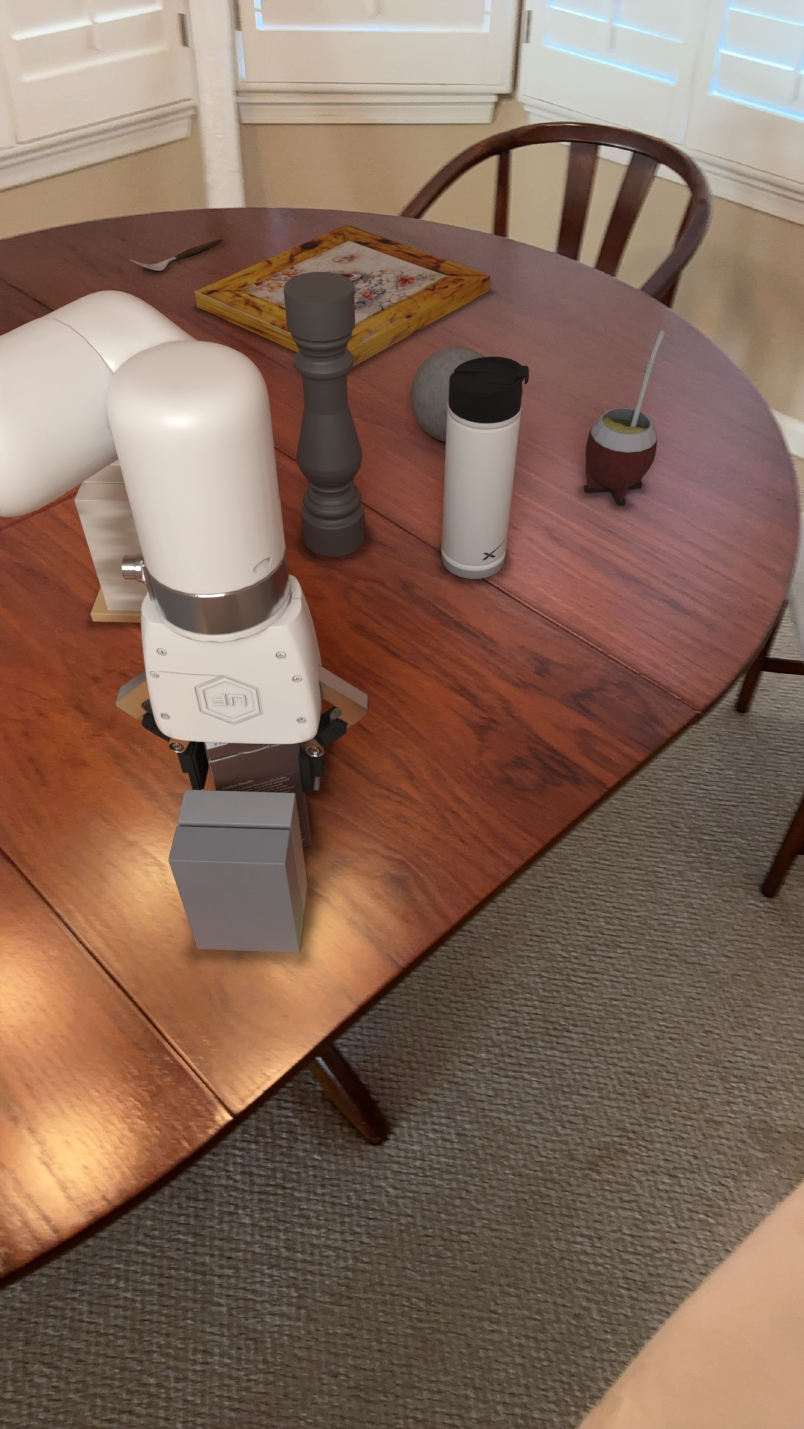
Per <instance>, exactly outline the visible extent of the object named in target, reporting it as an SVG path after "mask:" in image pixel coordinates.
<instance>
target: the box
mask: <svg viewBox="0 0 804 1429" xmlns="http://www.w3.org/2000/svg"><path fill="white" fill-rule="evenodd" d="M203 743H204V746H205V751H206V756H207V759H208V763H209V770H210V773H211V777H212V782H213V785H214V789H215V791H245V792H277V793H295V796H296V803H297V810H298V818H299V825H300V833H301V840H302V848H303V849H304V848H306V847H310V846H312V844H313V843H312V837H311V836H312V834H311V827H310V819H309V811H308V803H307V796H306V795H307V794H305V792H302V785H301V777H300V769H299V751H300V746H299V745H298V743H294V744H254V743H221V742H203Z"/></svg>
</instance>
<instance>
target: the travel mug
mask: <svg viewBox="0 0 804 1429" xmlns="http://www.w3.org/2000/svg"><path fill="white" fill-rule="evenodd" d="M529 380H530V368H529V366H528V365H522V364H521V363H520V362H518V361H517V360H514V359H512V358H508V357H504V356H493V355H492V356H484V357H481V358H476V359H472V360H469V361H466V362H464V363H462V364H460V365H458V366H457V367H456V368H455V369H454V373H452V374H451V376H450V379H449V398H448V406H447V409H448V410H447V429H446V442H445V456H444V480H443V481H444V482H443V502H442V503H443V504H442V525H441V546H440V559H441V563H442V565H443V567H444V568H445V569H446V570H447V571H448V572H449V573H450V574H452V575H455V576H457V577H460V578H462V579H468V580H481V579H486V578H489V577H493V576H494V575H495V574H498V573H499V571H501V570H502V568H503V567H504V565H505V563H506V555H507V547H508V546H507V545H508V536H509V527H510V517H511V510H512V509H511V508H512V498H513V492H514V491H513V490H514V489H513V488H514V480H515V473H516V472H515V471H516V464H517V463H516V462H517V454H518V444H519V442H518V441H519V435H520V434H519V433H520V425H521V412H522V398H523V384H524V385H527V384H528V383H529Z"/></svg>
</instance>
